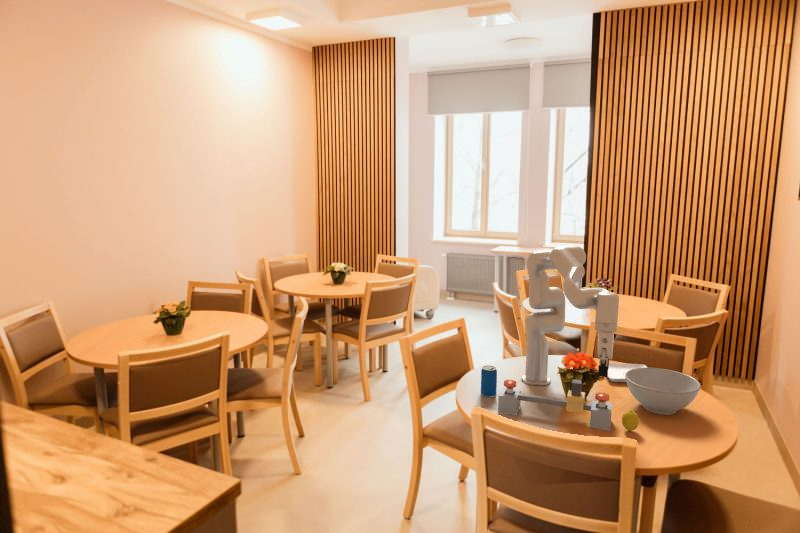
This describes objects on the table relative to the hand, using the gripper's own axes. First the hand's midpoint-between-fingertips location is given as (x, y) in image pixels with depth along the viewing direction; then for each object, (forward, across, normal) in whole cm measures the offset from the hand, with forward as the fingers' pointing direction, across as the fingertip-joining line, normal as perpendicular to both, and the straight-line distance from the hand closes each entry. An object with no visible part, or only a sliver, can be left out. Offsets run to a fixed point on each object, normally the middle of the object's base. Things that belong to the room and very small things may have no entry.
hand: (603, 372), depth 199 cm
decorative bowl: (+20, +24, -21) cm, 38 cm away
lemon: (+20, -2, -10) cm, 23 cm away
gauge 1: (+16, 0, +34) cm, 38 cm away
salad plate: (+21, +56, -9) cm, 61 cm away
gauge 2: (+16, 0, 0) cm, 16 cm away
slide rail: (+20, 0, +17) cm, 26 cm away
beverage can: (+20, +11, +45) cm, 50 cm away
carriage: (+16, 0, +9) cm, 18 cm away
